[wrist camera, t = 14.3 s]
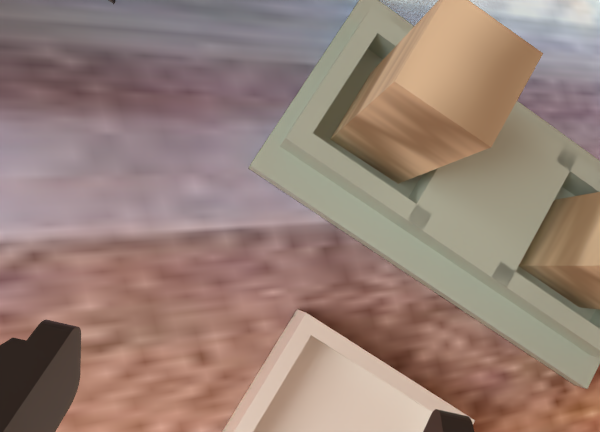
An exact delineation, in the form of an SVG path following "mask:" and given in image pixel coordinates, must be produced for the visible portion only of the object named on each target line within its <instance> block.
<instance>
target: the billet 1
mask: <svg viewBox="0 0 600 432" xmlns="http://www.w3.org/2000/svg"><path fill="white" fill-rule="evenodd" d="M542 54H543V53H542V52H540V51H539V50H537V49H536V48H535V47H533V46H532V45H530V44H529V43H528V42H526V41H525V40H523V39H522V38H521V37H519V36H518V35H516V34H515V33H514V32H512V31H511V30H509V29H508V28H507V27H505V26H504V25H502V24H501V23H499V22H498V21H497V20H495V19H494V18H492V17H491V16H490V15H488V14H487V13H485V12H484V11H483V10H481V9H480V8H478V7H477V6H476V5H474V4H473V3H471V2H470V1H469V0H439V1H438V2H437V3H436V4H435V5H434V6H433V7H432V8H431V9H430V10H429V11H428V12H427V13H426V14H425V16H424V17H423V18H422V19H421V20H420V21H419V22H418V23H417V24H416V25H415V26H414V27H413V28H412V29H411V30H410V32H409V33H408V34H407V35H406V36H405V37H404V38H403V39H402V40H401V41H400V42H399V43H398V44H397V45H396V46H395V47H394V49H393V50H392V51H391V52H390V53H389V54H388V55H387V56H386V57H385V58H384V59H383V60H382V61H381V62H380V63H379V64H378V66H377V67H376V68H375V69H374V70H373V71H372V72H371V73H370V75H369V76H368V78H367V80H366V81H365V83H364V84H363V86H362V88H361V89H360V91H359V93H358V94H357V96H356V98H355V99H354V101H353V102H352V104H351V106H350V107H349V109H348V111H347V112H346V114H345V116H344V117H343V119H342V121H341V122H340V124H339V125H338V127H337V129H336V130H335V132H334V134H333V135H332V137H331V139H330V140H332V141H333V142H335V143H337V144H338V145H340V146H341V147H343V148H344V149H346V150H347V151H349V152H350V153H352V154H353V155H355V156H356V157H358V158H359V159H361V160H362V161H364V162H366V163H367V164H369V165H370V166H372V167H373V168H375V169H376V170H378V171H379V172H381V173H382V174H384V175H385V176H387V177H388V178H390V179H391V180H393V181H394V182H396V183H398V184H399V183H401V182H404V181H406V180H409V179H411V178H414V177H417V176H419V175H422V174H424V173H427V172H429V171H432V170H434V169H437V168H440V167H442V166H445V165H447V164H450V163H452V162H455V161H458V160H460V159H463V158H465V157H468V156H470V155H473V154H476V153H478V152H481V151H483V150H486V149H488V148H491V147H492V145H493V143H494V142H495V140H496V138H497V136H498V134H499V132H500V131H501V129H502V127H503V125H504V123H505V122H506V120H507V118H508V116H509V114H510V112H511V111H512V109H513V107H514V105H515V103H516V102H517V100H518V98H519V96H520V94H521V92H522V91H523V89H524V87H525V85H526V83H527V82H528V80H529V78H530V76H531V74H532V72H533V71H534V69H535V67H536V65H537V63H538V62H539V60H540V58H541V56H542Z"/></svg>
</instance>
